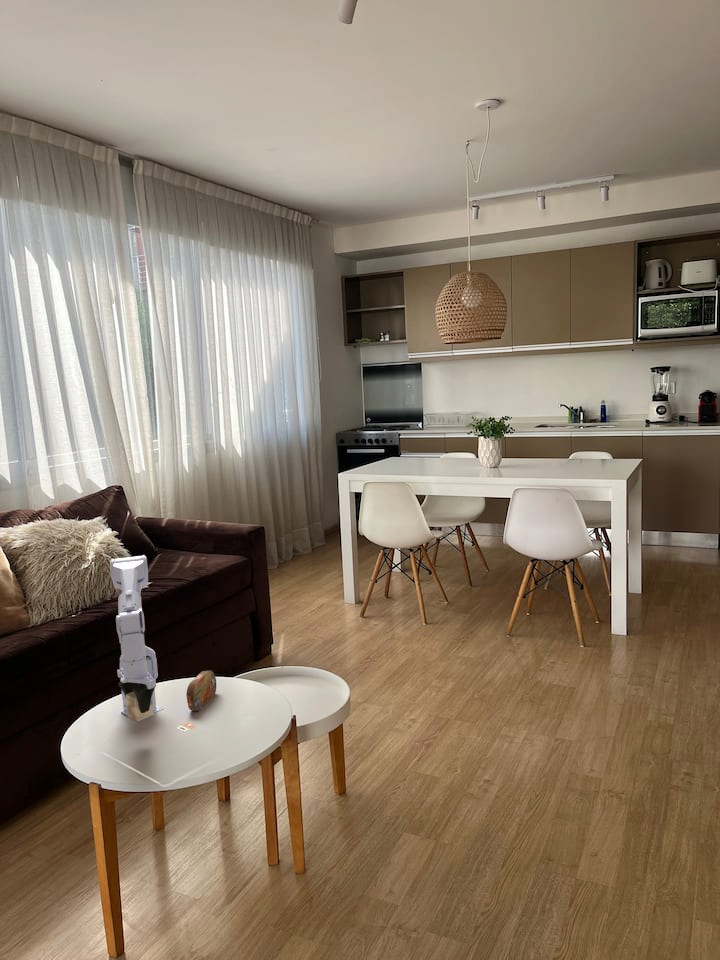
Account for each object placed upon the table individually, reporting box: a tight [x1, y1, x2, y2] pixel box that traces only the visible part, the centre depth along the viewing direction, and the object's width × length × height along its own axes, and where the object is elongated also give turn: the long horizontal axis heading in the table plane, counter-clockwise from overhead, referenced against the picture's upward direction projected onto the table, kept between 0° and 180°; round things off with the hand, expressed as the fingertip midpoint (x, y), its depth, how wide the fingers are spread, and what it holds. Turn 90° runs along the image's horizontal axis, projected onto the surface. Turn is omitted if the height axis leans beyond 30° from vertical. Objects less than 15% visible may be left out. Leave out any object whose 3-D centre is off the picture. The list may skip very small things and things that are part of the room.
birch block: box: [126, 692, 155, 722], centre depth 181 cm, size 4×4×6 cm
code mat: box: [176, 722, 196, 732], centre depth 188 cm, size 12×12×1 cm
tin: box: [185, 670, 217, 712], centre depth 202 cm, size 15×3×8 cm, turn 168°
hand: (139, 709), depth 181 cm, fingers closed on birch block, 4 cm apart
